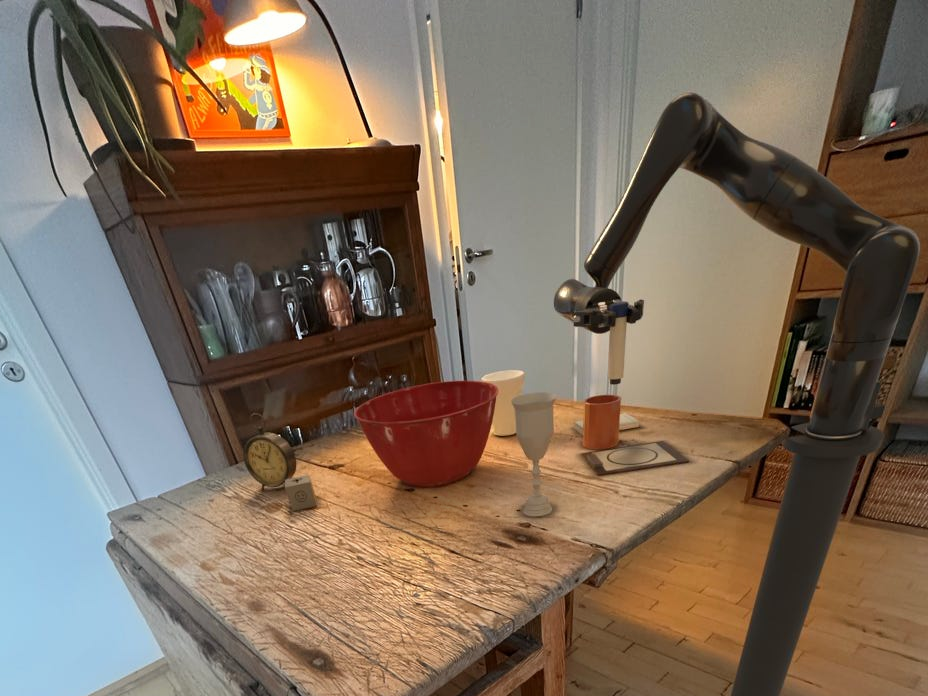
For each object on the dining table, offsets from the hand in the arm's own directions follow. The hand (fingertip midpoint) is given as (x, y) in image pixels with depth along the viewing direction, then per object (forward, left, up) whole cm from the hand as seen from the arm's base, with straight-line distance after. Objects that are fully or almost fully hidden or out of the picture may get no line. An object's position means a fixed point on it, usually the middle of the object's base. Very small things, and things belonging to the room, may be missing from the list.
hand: (624, 318), depth 90 cm
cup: (+19, -28, -24) cm, 41 cm away
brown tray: (-2, +2, -24) cm, 24 cm away
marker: (0, -3, -11) cm, 11 cm away
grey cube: (+65, 0, -24) cm, 69 cm away
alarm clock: (+73, -13, -24) cm, 78 cm away
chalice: (+20, +20, -24) cm, 37 cm away
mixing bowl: (+37, -5, -24) cm, 44 cm away
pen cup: (+1, -9, -24) cm, 26 cm away
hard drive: (-3, -20, -24) cm, 31 cm away
